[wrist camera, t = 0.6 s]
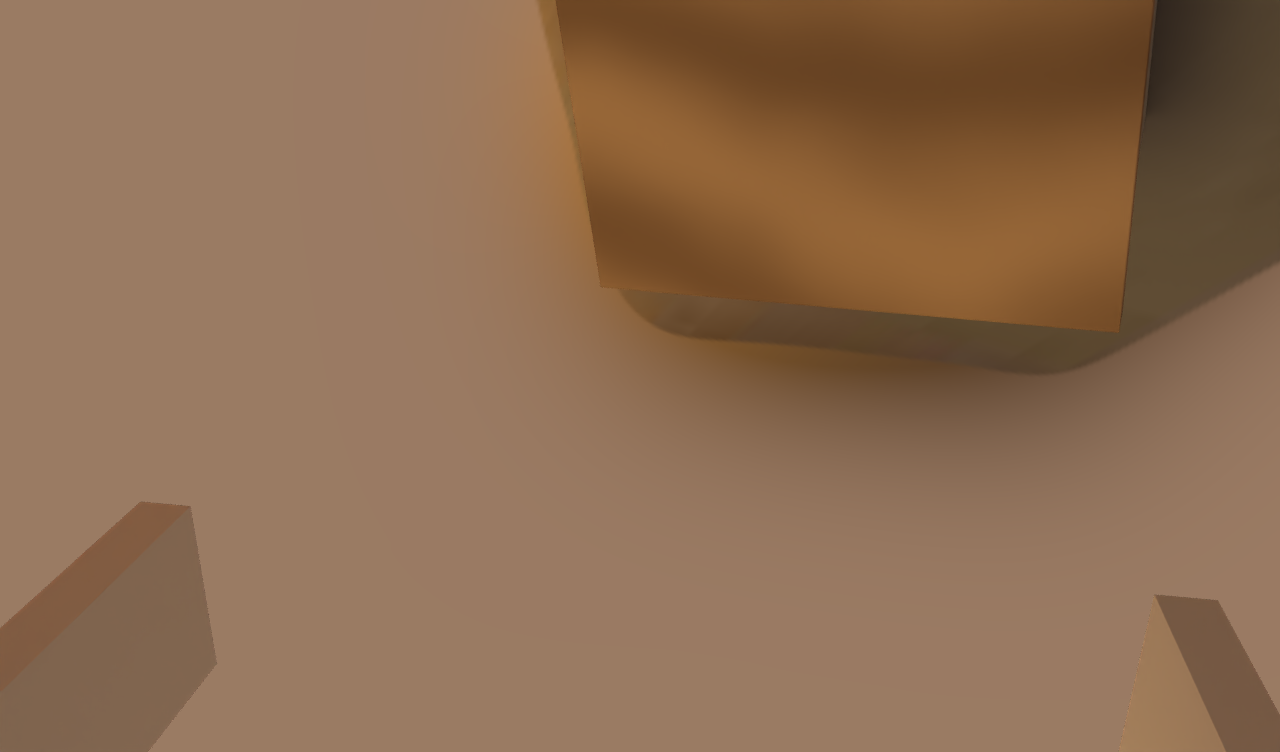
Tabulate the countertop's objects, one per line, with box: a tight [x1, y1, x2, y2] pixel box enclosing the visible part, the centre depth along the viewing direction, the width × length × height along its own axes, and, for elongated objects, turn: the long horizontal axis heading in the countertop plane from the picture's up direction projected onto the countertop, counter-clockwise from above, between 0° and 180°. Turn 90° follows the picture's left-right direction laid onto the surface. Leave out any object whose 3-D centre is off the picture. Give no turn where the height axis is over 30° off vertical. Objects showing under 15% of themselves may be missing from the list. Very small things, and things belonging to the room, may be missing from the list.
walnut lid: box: [556, 0, 1155, 333], centre depth 28 cm, size 15×14×1 cm
